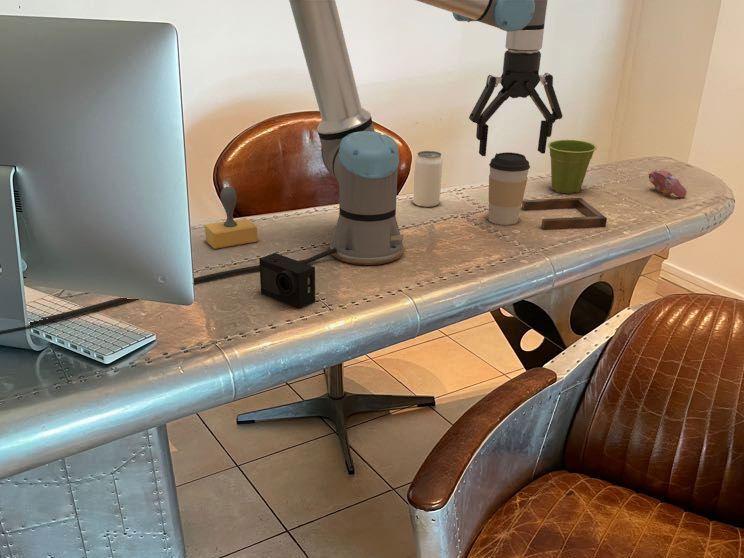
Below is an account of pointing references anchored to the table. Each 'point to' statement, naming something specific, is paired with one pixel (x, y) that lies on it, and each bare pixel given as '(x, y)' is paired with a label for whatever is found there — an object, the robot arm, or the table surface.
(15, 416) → the table surface
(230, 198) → the rubber stamp
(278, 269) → the digital camera
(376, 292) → the table surface
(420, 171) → the can
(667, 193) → the video game controller
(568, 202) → the frame
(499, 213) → the coffee cup
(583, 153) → the plant pot
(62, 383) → the table surface
